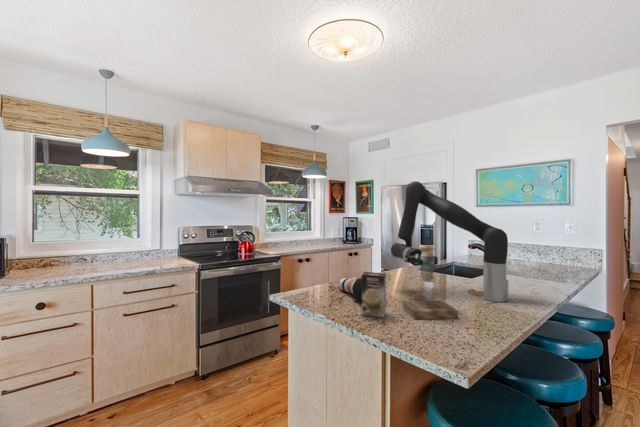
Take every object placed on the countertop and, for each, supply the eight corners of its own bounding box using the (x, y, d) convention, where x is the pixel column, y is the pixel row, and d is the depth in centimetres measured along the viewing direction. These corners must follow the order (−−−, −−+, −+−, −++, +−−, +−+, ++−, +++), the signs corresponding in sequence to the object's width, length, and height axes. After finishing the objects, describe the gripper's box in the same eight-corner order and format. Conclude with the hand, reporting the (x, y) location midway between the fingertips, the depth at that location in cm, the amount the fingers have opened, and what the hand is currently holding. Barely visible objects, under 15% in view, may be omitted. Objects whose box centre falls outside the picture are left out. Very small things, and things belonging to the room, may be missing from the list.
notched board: (441, 307, 128) (442, 300, 128) (457, 318, 115) (457, 310, 115) (402, 308, 126) (402, 301, 126) (414, 319, 114) (414, 311, 113)
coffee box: (360, 315, 118) (360, 274, 118) (363, 310, 124) (363, 271, 124) (384, 317, 115) (384, 276, 115) (386, 312, 121) (386, 272, 121)
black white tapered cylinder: (343, 295, 162) (350, 277, 164) (378, 307, 130) (386, 285, 133) (328, 288, 159) (335, 270, 161) (360, 298, 127) (368, 276, 130)
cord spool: (431, 278, 125) (431, 244, 125) (438, 281, 119) (438, 246, 119) (416, 278, 125) (417, 245, 125) (422, 282, 119) (423, 246, 119)
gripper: (398, 247, 137) (411, 253, 120) (428, 247, 138) (446, 253, 121) (398, 264, 137) (411, 271, 120) (428, 263, 138) (446, 271, 121)
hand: (429, 262), depth 120 cm, fingers closed on cord spool, 5 cm apart
